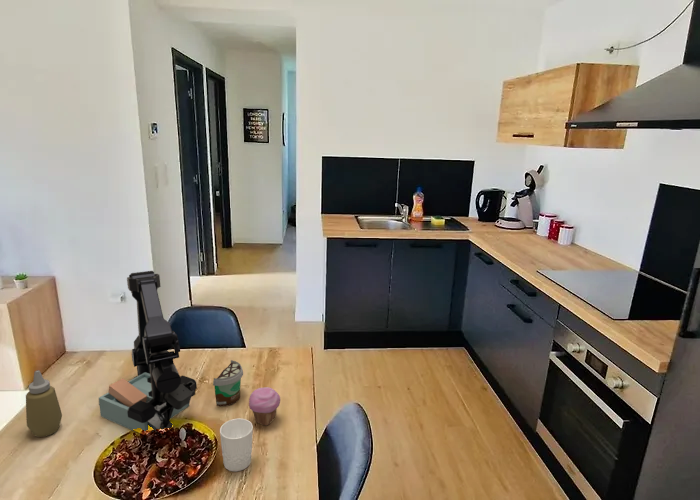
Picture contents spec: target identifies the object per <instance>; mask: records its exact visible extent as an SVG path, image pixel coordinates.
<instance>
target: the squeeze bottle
mask: <svg viewBox="0 0 700 500" xmlns="http://www.w3.org/2000/svg"><path fill="white" fill-rule="evenodd" d="M25 410H26V411H25V413H26V416H25V417H26V419H25V420H26V426H27V428H28V429H29V431H30V432H31V433H32V435H33V436H34V437H35V438H36V437H37V438H38V437H39V438H42V437H47V436H51V435H52V434H55V432H57V431H58V430H59V428H60V425H61V421H62V418H63V414H62V410H61V407H60V403H59V400H58V396H57V393H56V390H55V387H54V386H51V383H50V380H48V379H45V378H44V376H43V375H42V372H41V370H39V369H38V370H34V374H33V381H32V382H30V383H29V385H28V392H27V393H26V394H25Z"/></svg>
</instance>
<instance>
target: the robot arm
mask: <svg viewBox="0 0 700 500" xmlns="http://www.w3.org/2000/svg"><path fill="white" fill-rule="evenodd" d="M126 283H127V289H128V290H129V291H130V294H131V297H132V298H133V299H134V300H136V312H137V326H138V327H137V328H138V330H137V331H138V335H137V336H136V338H135V339H134V341H133V348H131V361H132V364H133V367H134V368H135V367H136V369H137V376H139V375H141V374H143V373H145V372H146V373H149V374H150V377H149V378H148V379H147V381H148V382H149V383H151V389H152V391H150V392H148V393H149V396H151V397H152V398H153V399H152V400H150V401H148V402H147V403H146V402H144V401H139V402H137V403H136V404H134V405H132V406H131V407H129V408H128V410H127V413H128V417H129V418H131V419H133V420H136V421H138V422H141V423H146V422H147V421H149V420H150V419H152V418H153V417H154V416H155V414H156V415H157V416H158V418H159V419H160V420H161V422H162V423H163V425H165V426H167V425H168V424H169V422H171V419H172V418H171V415H172V412H173V409H174V408H175V409H177V410H179V409H181V408H182V407H184V406H185V405H186V404H189V405H190V402H191V400H192V397H194V396H195V395H196V390H197V388H198V386H197V381H196V380H195V379H194V378H191V377H188V376H185V375H180V373H179V372H178V371H179V370H178V369H177V367H176V365H175V362H174V360H176V359H179V358H180V354H179V353H180V352H181V347H180V342H179V338H178V334H177V333H176V332H175V331H174V330H172V326H171V322H169V321H167V320H166V319H165V318H164V314H163V310H162V306H161V302H160V297H159V293H158V289H159V288H161V287H162V286H161V277H160V274H159V273H155V271H154V270H146V271H145V270H144V271H137V272H132V273H130V274H129V275H128V277H126ZM172 349H173V350H172ZM169 350H172V351H169ZM137 376H135V377H137ZM135 377H133V379H134V378H135Z"/></svg>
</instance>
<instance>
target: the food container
mask: <svg viewBox="0 0 700 500" xmlns="http://www.w3.org/2000/svg"><path fill="white" fill-rule="evenodd" d="M243 377H244V371H243V366H242V365H241V363H239V361H236V360H232V359H230V363H229V365H228V366H227V367H226V368H224V369H223V370H222V371H221V372H220V374H219V376H218V377H217V378H213V381H212V386H213V387H214V394H215V395H214V396H215V404H216V407H227V406H231V405H233V404H235V403H237V402H238V401H239V400H240V397H241V381H242V378H243Z"/></svg>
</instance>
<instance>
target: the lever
mask: <svg viewBox="0 0 700 500" xmlns="http://www.w3.org/2000/svg"><path fill="white" fill-rule="evenodd" d="M115 400H116V401H117V402H119V403H120V404H122V405H124V404H123V403H122V402H120V401H119V400H118V399H115ZM125 406H126V405H125ZM171 422H172V421H170V422H169V424H168V425H167V426H165V425H163V423H162V422H161V420H160V419H159V418H158V416H157V415H156V414H155V416H154V417H153V418H152V419H150V420H149V421H147V423H148V425H149V426H150V427H152V428H153V429H154V431H156V429H160V428H161V429H164V428H171V427H172V425H173V424H174V423H173V422H172V423H173V424H172V423H171Z"/></svg>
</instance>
